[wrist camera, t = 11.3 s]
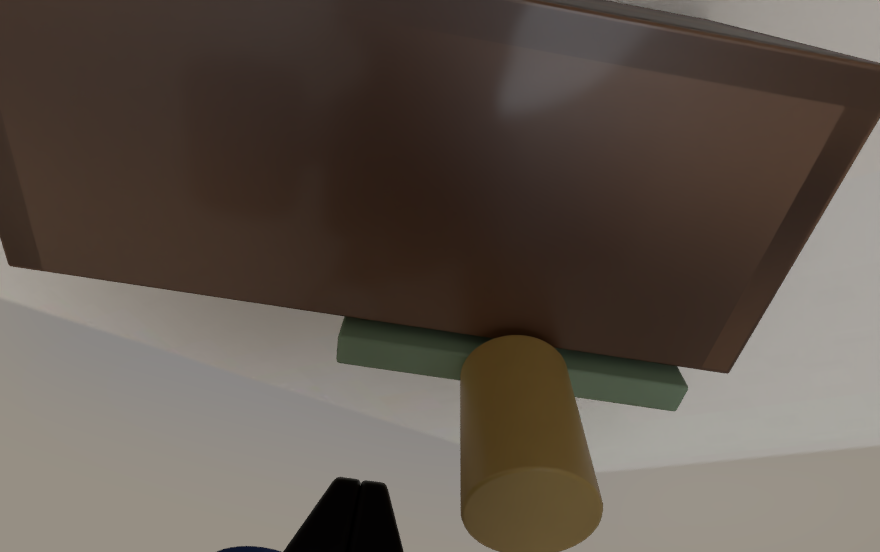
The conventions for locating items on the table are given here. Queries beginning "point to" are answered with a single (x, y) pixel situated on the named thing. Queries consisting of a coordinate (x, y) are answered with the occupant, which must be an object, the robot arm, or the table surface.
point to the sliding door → (518, 423)
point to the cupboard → (430, 161)
